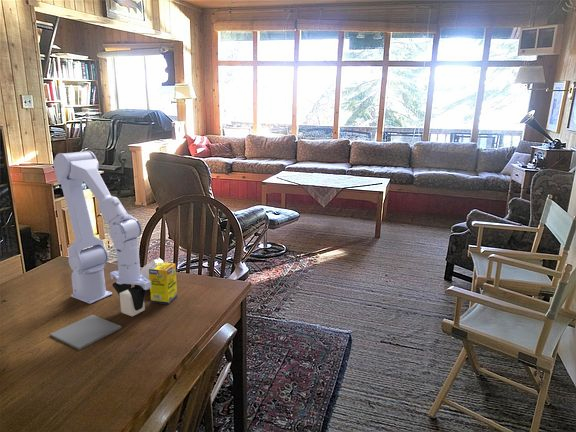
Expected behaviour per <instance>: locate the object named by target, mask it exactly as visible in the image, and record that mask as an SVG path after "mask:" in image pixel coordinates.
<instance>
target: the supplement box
mask: <svg viewBox="0 0 576 432" xmlns="http://www.w3.org/2000/svg"><path fill="white" fill-rule="evenodd" d="M176 268H177V265H176V263H172V262H165V261H164V262H158V263H157V264H155V265H154V266H152V267H151V268H149V281H151V288H150V290H149V292H150V294H149V295H150V303H154V304H163V305H169V304H171V303H172V302H173V301H174V300H175V299H176V298H177V297H178V285H177V284H178V282H177V269H176Z"/></svg>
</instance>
